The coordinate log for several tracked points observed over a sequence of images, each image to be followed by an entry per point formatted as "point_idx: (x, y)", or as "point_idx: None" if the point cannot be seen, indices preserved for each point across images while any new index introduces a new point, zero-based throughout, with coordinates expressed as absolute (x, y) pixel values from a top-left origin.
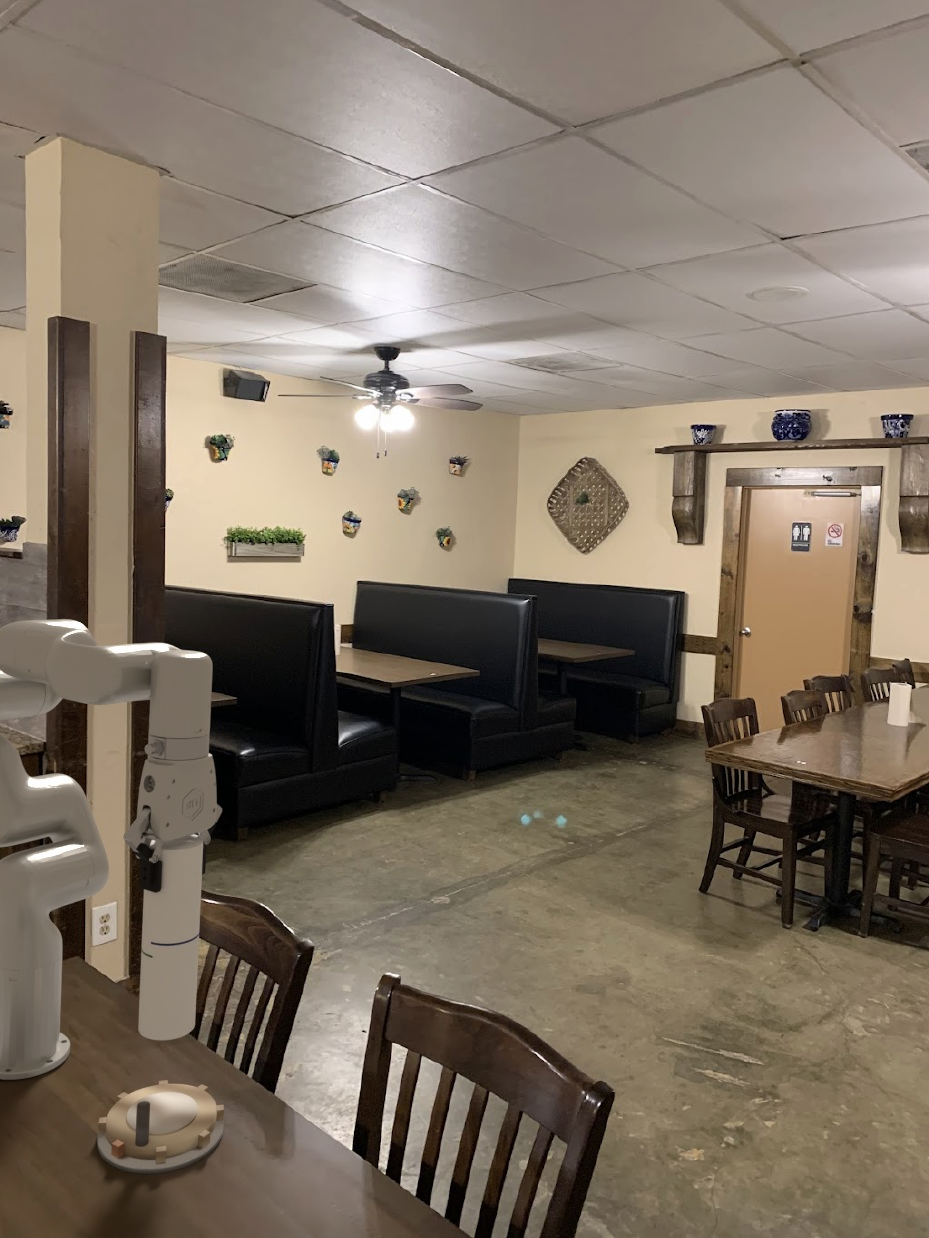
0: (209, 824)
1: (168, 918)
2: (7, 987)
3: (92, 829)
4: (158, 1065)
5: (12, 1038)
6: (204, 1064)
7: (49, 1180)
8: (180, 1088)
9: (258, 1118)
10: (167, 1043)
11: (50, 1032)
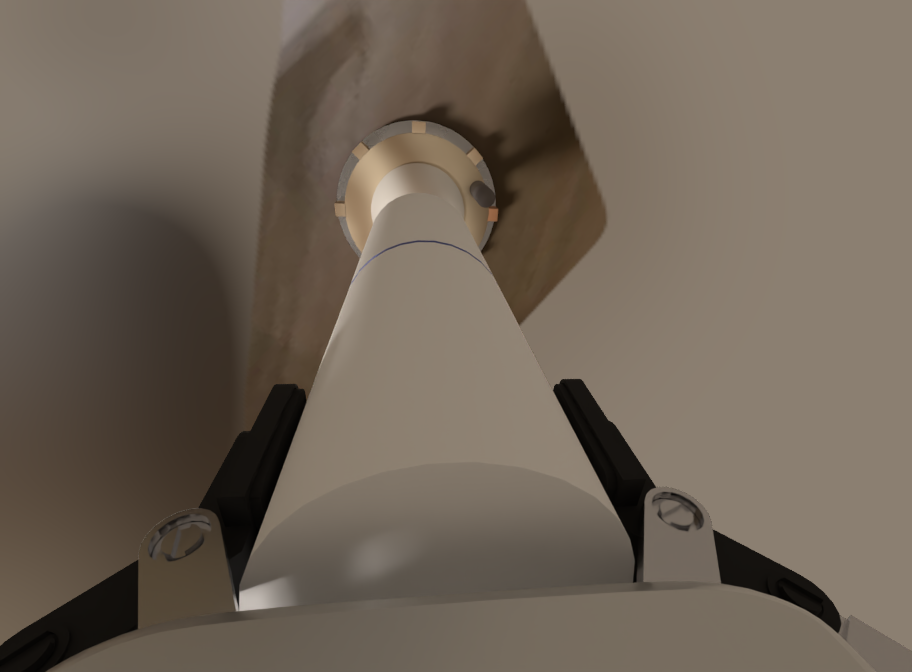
0: (149, 670)
1: (507, 305)
2: None
3: None
4: (317, 315)
5: None
6: (273, 270)
7: (542, 251)
8: (362, 233)
9: (312, 111)
10: (274, 342)
11: None
